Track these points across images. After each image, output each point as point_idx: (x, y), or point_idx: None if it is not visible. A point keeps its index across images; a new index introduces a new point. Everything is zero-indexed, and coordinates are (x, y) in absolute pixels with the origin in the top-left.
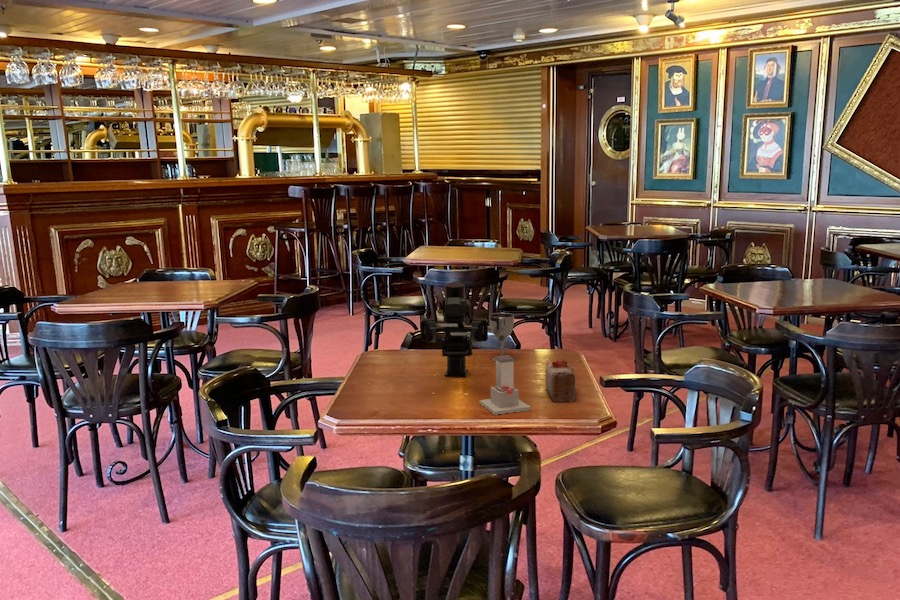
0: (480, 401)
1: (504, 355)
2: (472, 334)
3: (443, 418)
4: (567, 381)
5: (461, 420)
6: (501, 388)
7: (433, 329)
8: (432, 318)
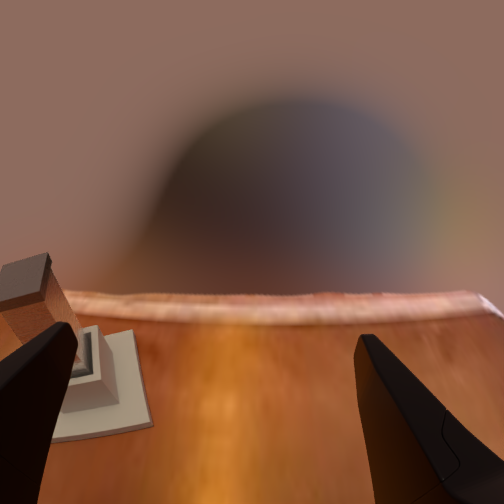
0: (148, 414)
1: (3, 298)
2: (19, 350)
3: (269, 324)
4: None
5: (223, 312)
6: (82, 330)
7: (464, 460)
8: None
